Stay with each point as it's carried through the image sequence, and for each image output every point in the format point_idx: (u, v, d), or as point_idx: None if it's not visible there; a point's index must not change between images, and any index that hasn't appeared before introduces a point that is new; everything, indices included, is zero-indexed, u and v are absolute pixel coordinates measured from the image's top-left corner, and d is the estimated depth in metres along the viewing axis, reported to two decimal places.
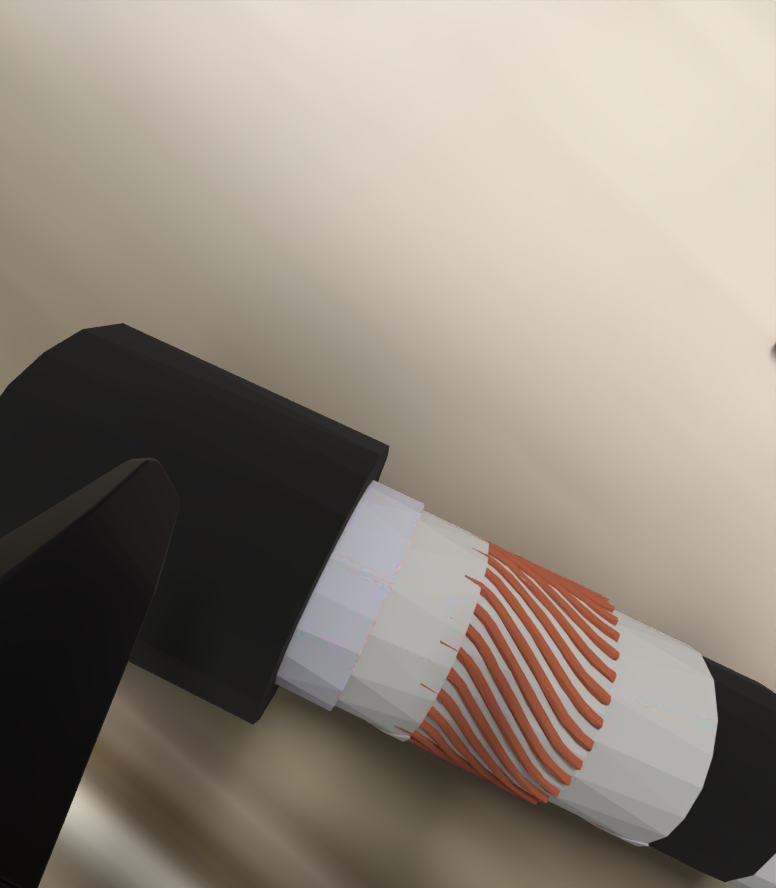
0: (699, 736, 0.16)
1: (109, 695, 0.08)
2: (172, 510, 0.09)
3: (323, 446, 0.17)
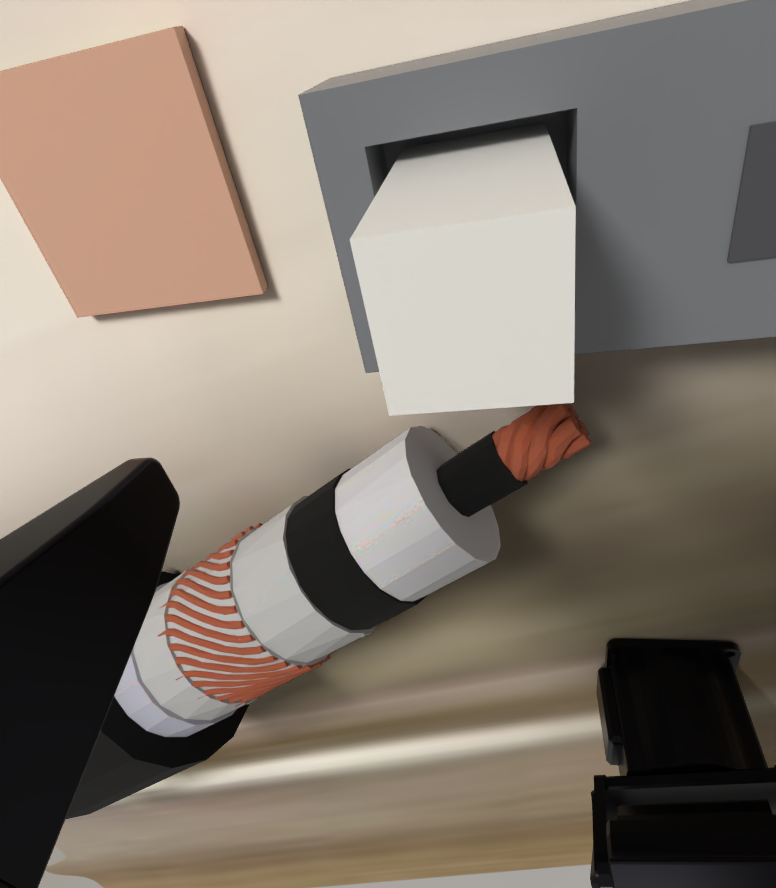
0: (289, 588, 0.22)
1: (109, 695, 0.08)
2: (172, 510, 0.09)
3: None
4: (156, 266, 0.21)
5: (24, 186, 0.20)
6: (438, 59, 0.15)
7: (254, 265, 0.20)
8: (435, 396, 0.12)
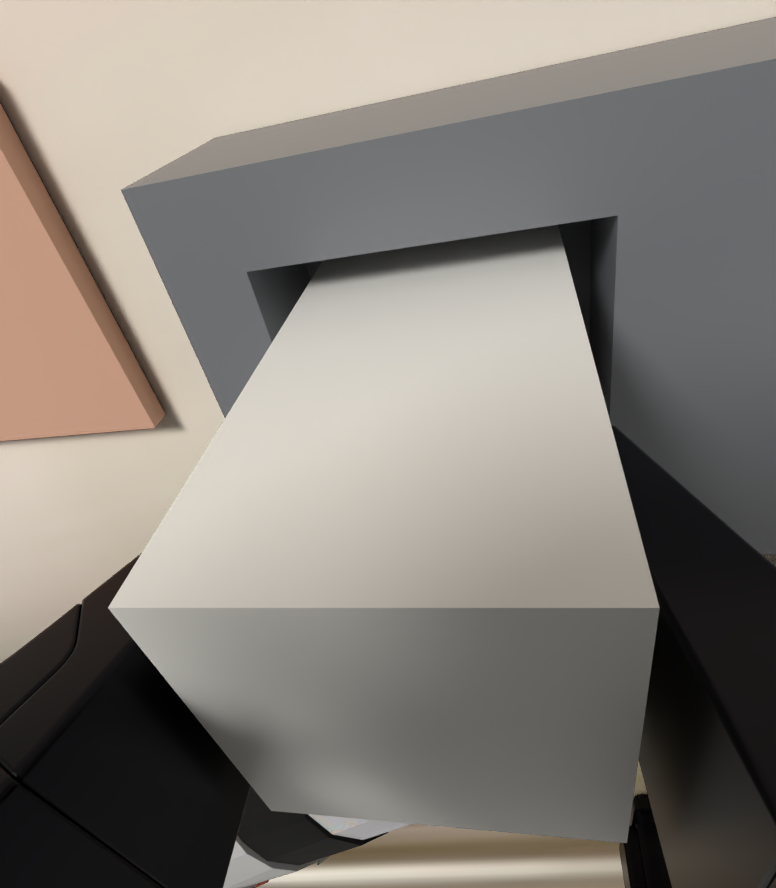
0: None
1: None
2: None
3: None
4: (4, 391, 0.15)
5: None
6: (372, 118, 0.09)
7: (138, 392, 0.14)
8: (351, 804, 0.06)
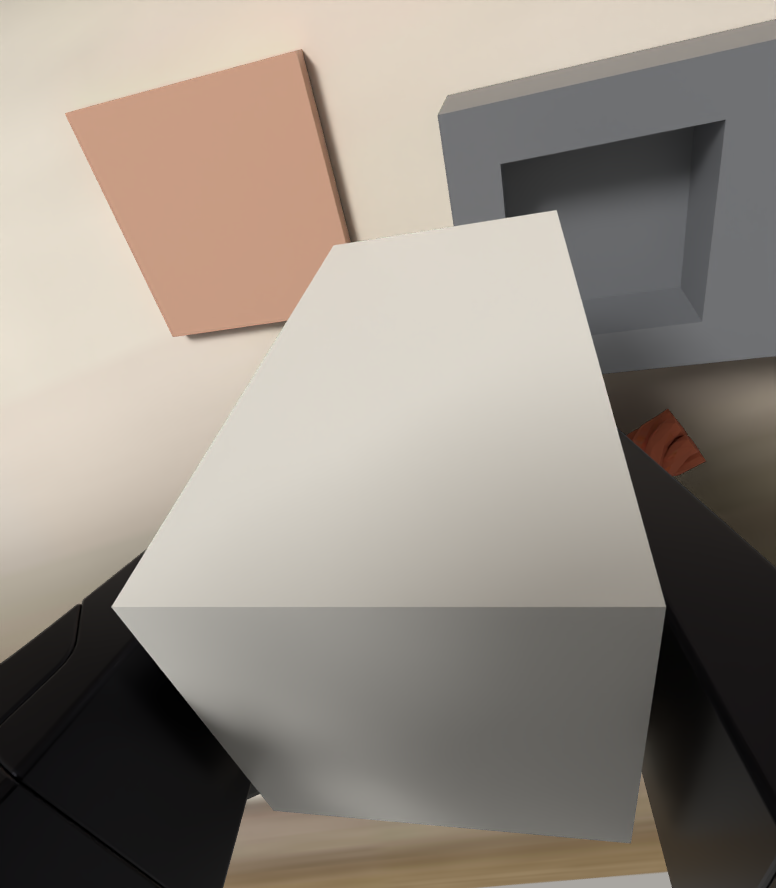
0: None
1: None
2: None
3: None
4: (257, 285, 0.21)
5: (131, 210, 0.20)
6: (571, 74, 0.15)
7: None
8: (354, 804, 0.06)
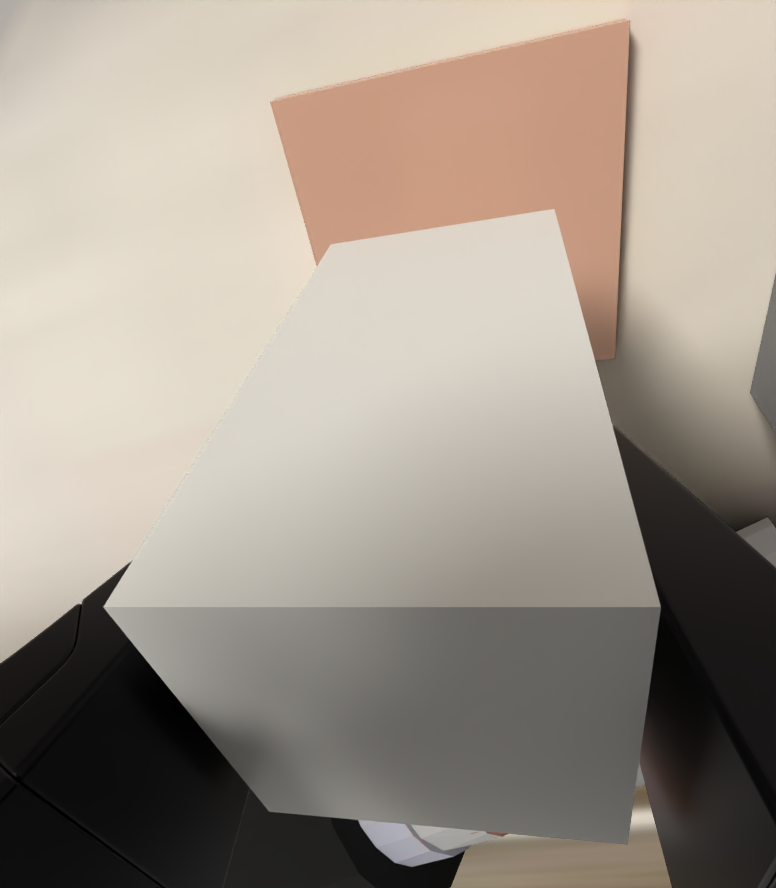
0: None
1: None
2: None
3: None
4: None
5: (333, 230, 0.15)
6: None
7: None
8: (349, 805, 0.06)
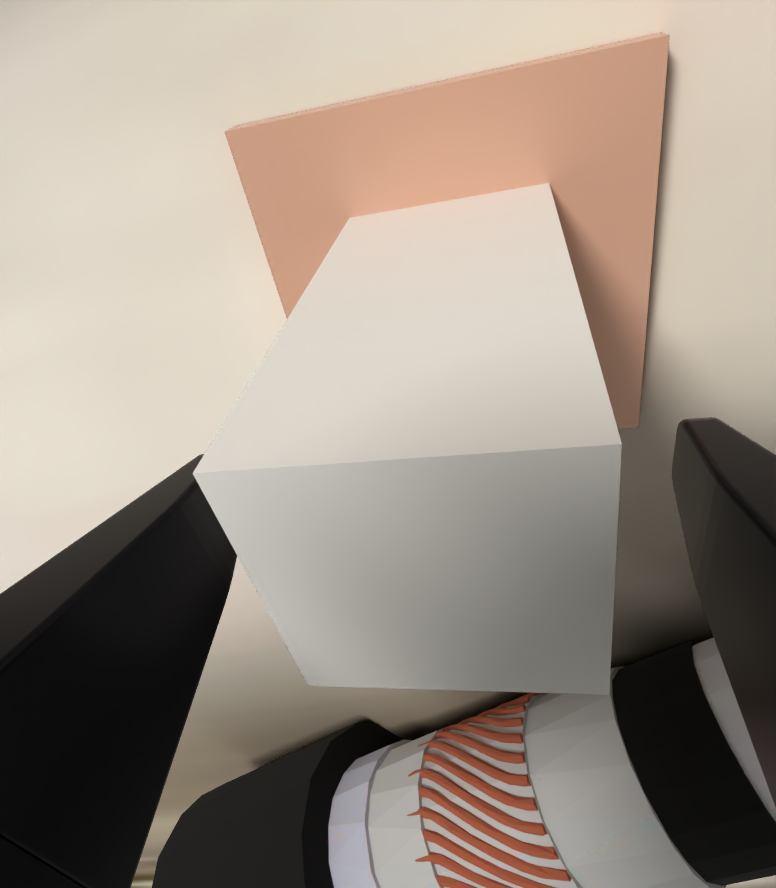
0: (652, 841, 0.16)
1: (189, 698, 0.08)
2: None
3: (273, 873, 0.21)
4: None
5: (306, 280, 0.13)
6: None
7: (640, 390, 0.13)
8: (377, 671, 0.08)
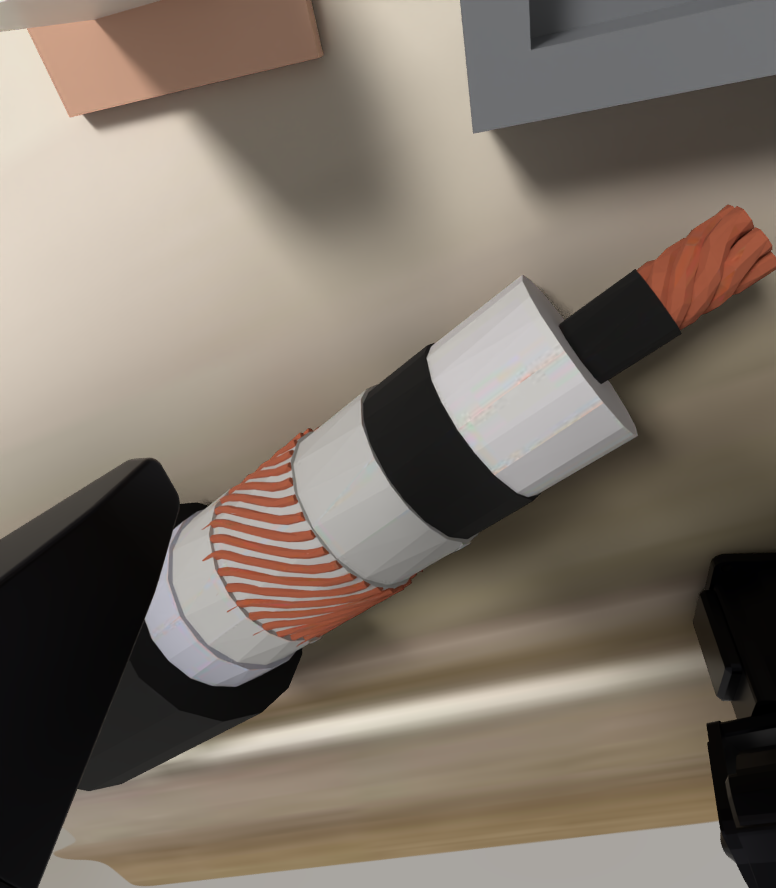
0: (373, 483, 0.18)
1: (110, 694, 0.08)
2: (172, 510, 0.09)
3: None
4: (174, 22, 0.15)
5: None
6: None
7: (308, 10, 0.15)
8: None
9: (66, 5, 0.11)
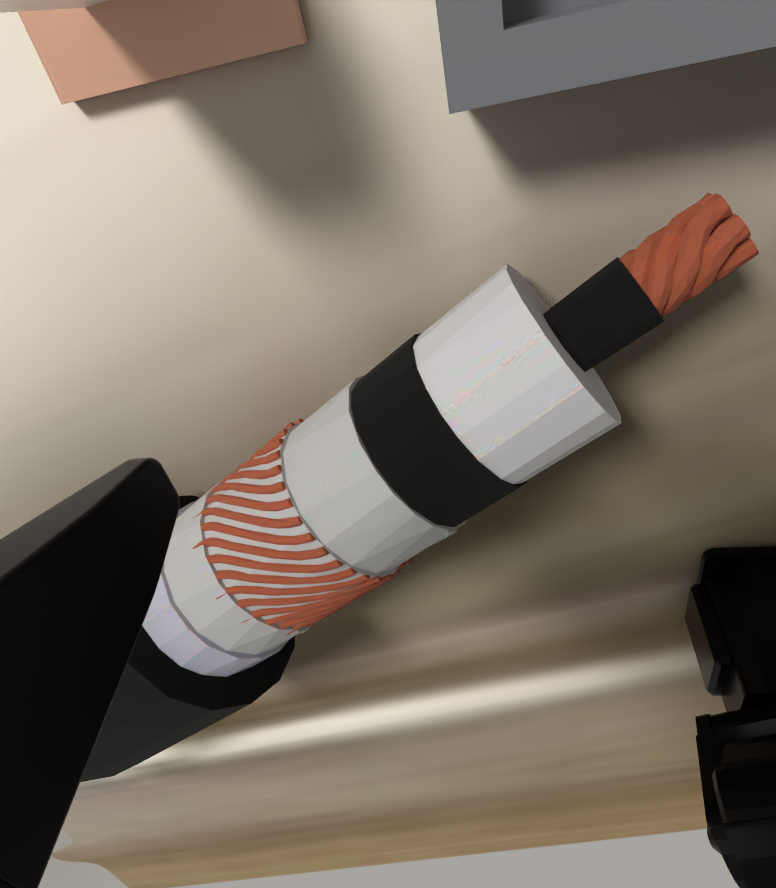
0: (359, 468, 0.18)
1: (109, 695, 0.08)
2: (172, 510, 0.09)
3: None
4: (162, 9, 0.16)
5: None
6: None
7: None
8: None
9: None
